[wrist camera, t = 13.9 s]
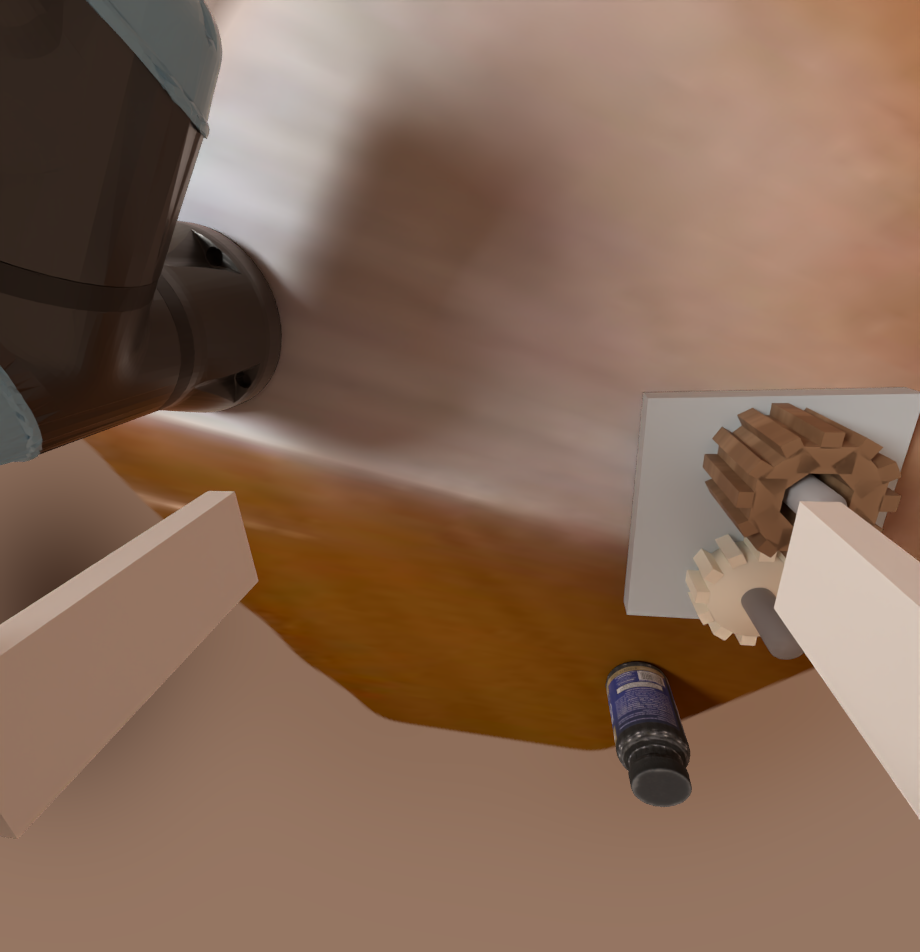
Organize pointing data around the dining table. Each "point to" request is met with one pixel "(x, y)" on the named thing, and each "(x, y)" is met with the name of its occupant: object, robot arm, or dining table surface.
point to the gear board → (707, 525)
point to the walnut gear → (794, 471)
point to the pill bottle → (649, 734)
